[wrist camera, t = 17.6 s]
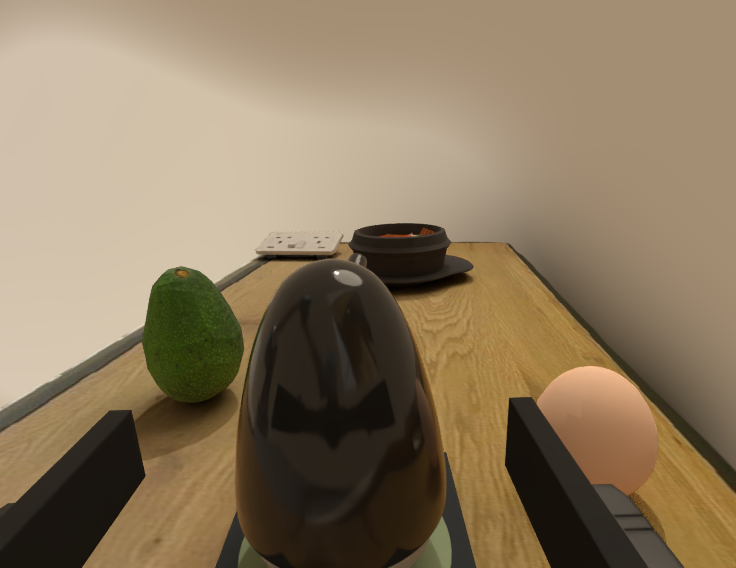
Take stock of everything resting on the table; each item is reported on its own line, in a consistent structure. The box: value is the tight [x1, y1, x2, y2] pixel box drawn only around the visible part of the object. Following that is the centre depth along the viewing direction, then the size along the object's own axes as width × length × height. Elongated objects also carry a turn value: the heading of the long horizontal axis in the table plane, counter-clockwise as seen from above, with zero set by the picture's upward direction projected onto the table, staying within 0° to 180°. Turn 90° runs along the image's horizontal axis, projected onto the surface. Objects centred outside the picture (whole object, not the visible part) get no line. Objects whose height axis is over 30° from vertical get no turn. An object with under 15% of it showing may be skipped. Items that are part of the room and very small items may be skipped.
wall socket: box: [256, 232, 343, 259], centre depth 93 cm, size 18×15×4 cm
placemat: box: [215, 452, 476, 568], centre depth 23 cm, size 13×14×1 cm
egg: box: [537, 366, 658, 495], centre depth 26 cm, size 7×7×8 cm
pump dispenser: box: [235, 253, 446, 568], centre depth 21 cm, size 10×10×15 cm
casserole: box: [348, 223, 473, 287], centre depth 73 cm, size 25×19×8 cm
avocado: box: [142, 266, 244, 403], centre depth 37 cm, size 8×8×12 cm
